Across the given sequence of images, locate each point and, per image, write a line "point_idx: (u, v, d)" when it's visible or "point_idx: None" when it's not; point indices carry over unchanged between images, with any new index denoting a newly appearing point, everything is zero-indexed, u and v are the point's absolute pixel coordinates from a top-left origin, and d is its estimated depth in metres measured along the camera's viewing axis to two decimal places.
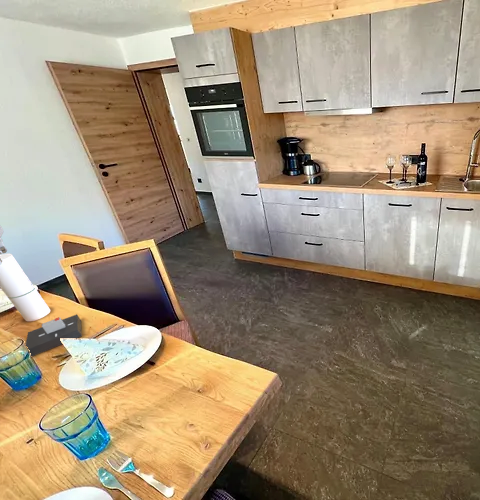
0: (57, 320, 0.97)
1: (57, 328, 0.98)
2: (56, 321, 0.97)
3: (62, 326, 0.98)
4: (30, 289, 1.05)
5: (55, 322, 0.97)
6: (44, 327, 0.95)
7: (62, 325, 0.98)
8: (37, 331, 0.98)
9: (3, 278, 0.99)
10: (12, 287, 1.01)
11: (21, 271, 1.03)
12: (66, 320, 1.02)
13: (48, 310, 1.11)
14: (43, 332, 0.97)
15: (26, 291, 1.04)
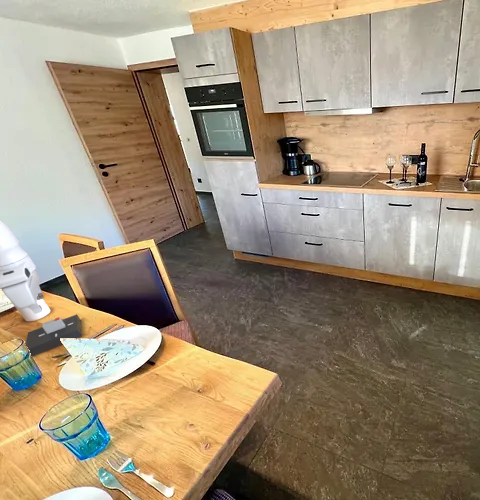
0: (57, 320, 0.97)
1: (57, 328, 0.98)
2: (56, 321, 0.97)
3: (62, 326, 0.98)
4: None
5: (55, 322, 0.97)
6: (44, 327, 0.95)
7: (62, 325, 0.98)
8: (37, 331, 0.98)
9: None
10: None
11: None
12: (66, 320, 1.02)
13: (48, 310, 1.11)
14: (43, 332, 0.97)
15: None
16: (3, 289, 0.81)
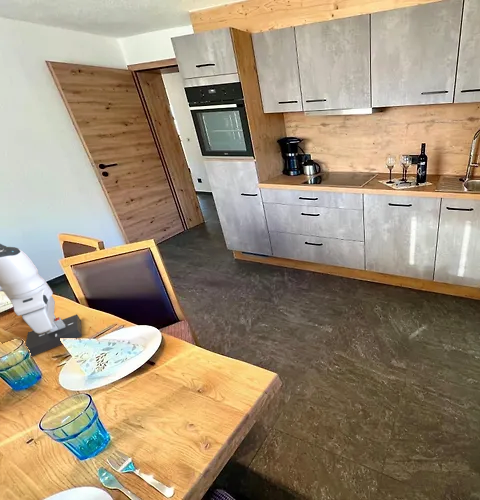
0: (57, 320, 0.97)
1: None
2: (56, 321, 0.97)
3: (62, 326, 0.98)
4: None
5: (55, 322, 0.97)
6: None
7: (62, 325, 0.98)
8: None
9: None
10: None
11: None
12: (66, 320, 1.02)
13: None
14: None
15: None
16: (23, 316, 0.85)
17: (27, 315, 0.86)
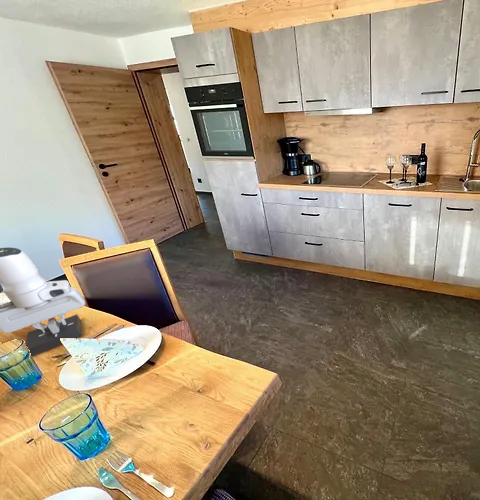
0: (54, 318, 0.98)
1: (58, 326, 0.99)
2: (54, 319, 0.98)
3: (58, 324, 0.99)
4: None
5: (54, 320, 0.98)
6: (55, 325, 0.96)
7: None
8: (37, 331, 0.98)
9: None
10: None
11: None
12: (66, 320, 1.02)
13: None
14: None
15: None
16: (70, 292, 0.96)
17: (71, 291, 0.96)
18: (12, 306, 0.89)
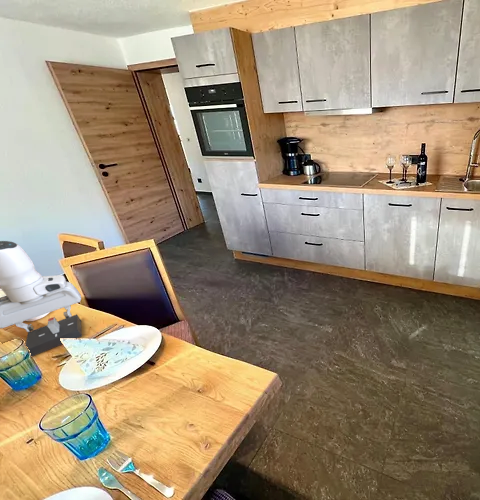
0: (54, 318, 0.98)
1: (58, 326, 0.99)
2: (54, 319, 0.98)
3: (58, 324, 0.99)
4: None
5: (54, 320, 0.98)
6: (55, 325, 0.96)
7: (58, 323, 0.99)
8: (37, 331, 0.98)
9: None
10: None
11: None
12: (66, 320, 1.02)
13: None
14: (43, 332, 0.97)
15: None
16: (66, 287, 0.95)
17: (67, 286, 0.95)
18: (7, 300, 0.88)
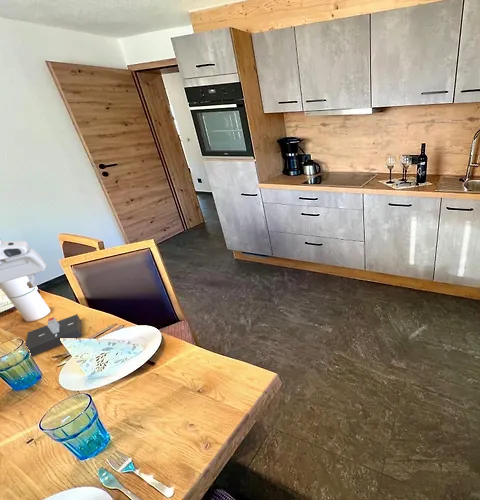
0: (54, 318, 0.98)
1: (58, 326, 0.99)
2: (54, 319, 0.98)
3: (58, 324, 0.99)
4: (30, 289, 1.05)
5: (54, 320, 0.98)
6: (55, 325, 0.96)
7: (58, 323, 0.99)
8: (37, 331, 0.98)
9: None
10: (12, 287, 1.01)
11: None
12: (66, 320, 1.02)
13: (48, 310, 1.11)
14: (43, 332, 0.97)
15: (26, 291, 1.04)
16: (28, 253, 0.87)
17: (29, 252, 0.88)
18: None
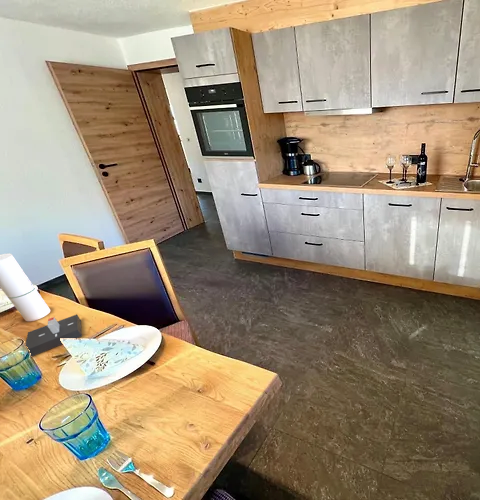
0: (54, 318, 0.98)
1: (58, 326, 0.99)
2: (54, 319, 0.98)
3: (58, 324, 0.99)
4: (30, 289, 1.05)
5: (54, 320, 0.98)
6: (55, 325, 0.96)
7: (58, 323, 0.99)
8: (37, 331, 0.98)
9: (3, 278, 0.99)
10: (12, 287, 1.01)
11: (21, 271, 1.03)
12: (66, 320, 1.02)
13: (48, 310, 1.11)
14: (43, 332, 0.97)
15: (26, 291, 1.04)
16: None
17: None
18: None
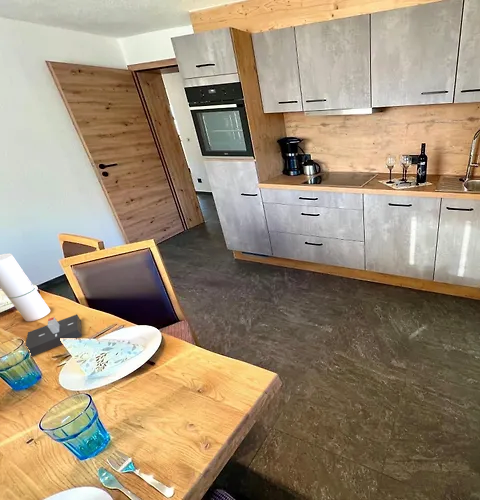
0: (54, 318, 0.98)
1: (58, 326, 0.99)
2: (54, 319, 0.98)
3: (58, 324, 0.99)
4: (30, 289, 1.05)
5: (54, 320, 0.98)
6: (55, 325, 0.96)
7: (58, 323, 0.99)
8: (37, 331, 0.98)
9: (3, 278, 0.99)
10: (12, 287, 1.01)
11: (21, 271, 1.03)
12: (66, 320, 1.02)
13: (48, 310, 1.11)
14: (43, 332, 0.97)
15: (26, 291, 1.04)
16: None
17: None
18: None
